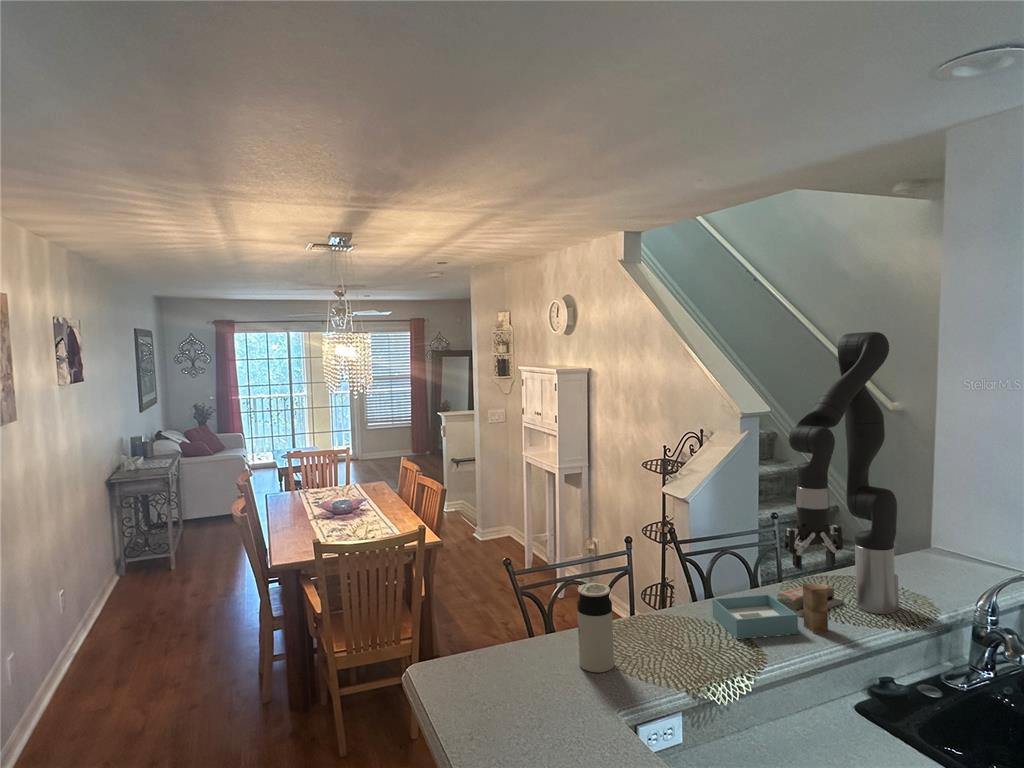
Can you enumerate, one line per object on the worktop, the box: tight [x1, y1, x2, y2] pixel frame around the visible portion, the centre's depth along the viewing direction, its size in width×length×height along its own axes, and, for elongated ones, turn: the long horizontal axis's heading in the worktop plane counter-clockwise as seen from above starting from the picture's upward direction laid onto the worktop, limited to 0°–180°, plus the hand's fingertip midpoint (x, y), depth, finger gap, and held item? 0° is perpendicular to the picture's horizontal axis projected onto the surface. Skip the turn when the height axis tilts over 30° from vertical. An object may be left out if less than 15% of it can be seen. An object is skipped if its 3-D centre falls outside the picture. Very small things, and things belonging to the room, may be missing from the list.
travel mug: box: [576, 582, 615, 673], centre depth 142 cm, size 8×8×18 cm
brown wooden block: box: [802, 582, 829, 634], centre depth 156 cm, size 4×4×11 cm
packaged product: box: [776, 583, 845, 618], centre depth 172 cm, size 18×5×10 cm
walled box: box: [712, 593, 799, 640], centre depth 159 cm, size 16×14×5 cm
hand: (813, 567), depth 155 cm, fingers open, 8 cm apart
